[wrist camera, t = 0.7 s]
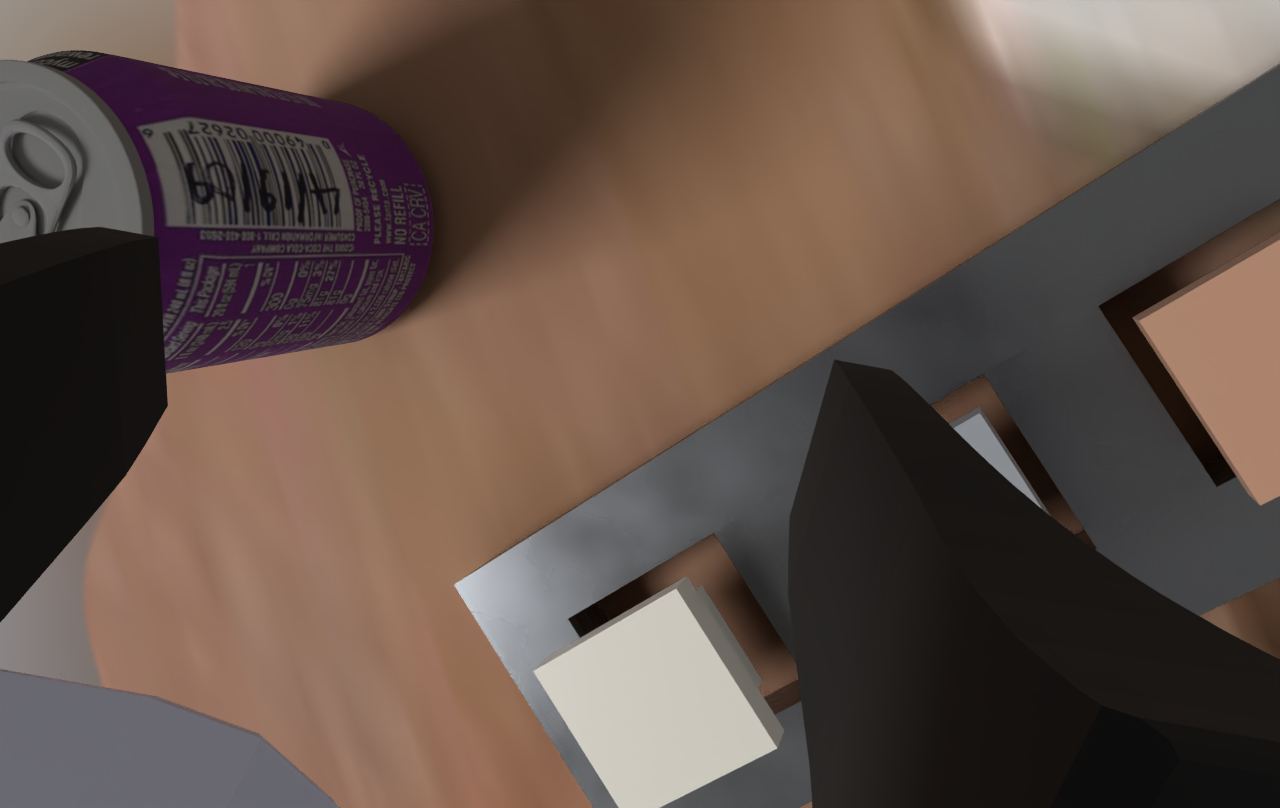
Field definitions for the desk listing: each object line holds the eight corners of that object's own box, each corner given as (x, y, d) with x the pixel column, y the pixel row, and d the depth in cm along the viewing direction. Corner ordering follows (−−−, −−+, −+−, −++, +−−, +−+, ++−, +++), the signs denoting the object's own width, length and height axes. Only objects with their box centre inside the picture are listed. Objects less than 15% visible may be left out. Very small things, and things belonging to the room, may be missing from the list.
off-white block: (799, 691, 29) (777, 748, 26) (664, 761, 30) (628, 823, 27) (708, 549, 29) (676, 588, 26) (579, 625, 31) (532, 671, 27)
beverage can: (289, 63, 33) (-68, -28, 22) (484, 171, 32) (212, 135, 20) (207, 272, 35) (-160, 290, 24) (389, 383, 34) (92, 458, 22)
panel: (1576, 397, 25) (1626, 411, 23) (659, 846, 33) (640, 883, 31) (1330, 31, 25) (1359, 14, 24) (483, 564, 34) (454, 584, 32)
